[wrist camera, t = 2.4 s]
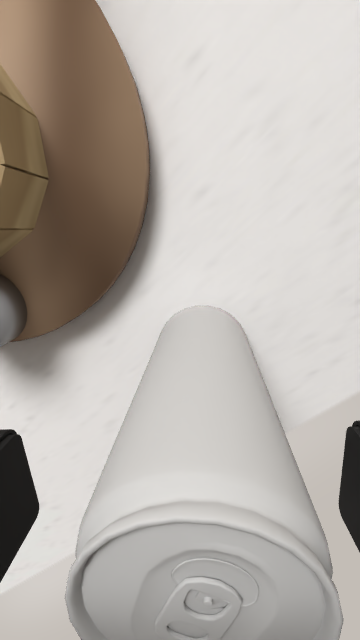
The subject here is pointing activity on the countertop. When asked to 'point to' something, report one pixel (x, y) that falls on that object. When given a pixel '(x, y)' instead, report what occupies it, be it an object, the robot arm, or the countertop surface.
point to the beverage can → (202, 507)
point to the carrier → (65, 163)
